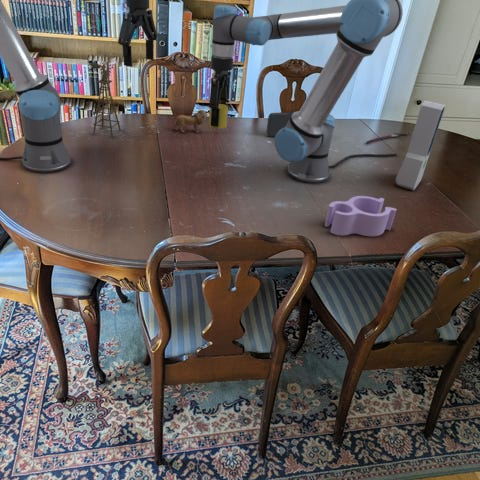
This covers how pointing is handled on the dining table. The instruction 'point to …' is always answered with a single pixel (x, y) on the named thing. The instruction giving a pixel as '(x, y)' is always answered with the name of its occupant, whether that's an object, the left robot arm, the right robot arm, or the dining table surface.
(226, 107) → the tin
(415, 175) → the electronic device
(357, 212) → the clip
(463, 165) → the dining table surface
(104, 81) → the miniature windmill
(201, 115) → the lion figurine
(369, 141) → the sword
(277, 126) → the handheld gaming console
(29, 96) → the left robot arm
